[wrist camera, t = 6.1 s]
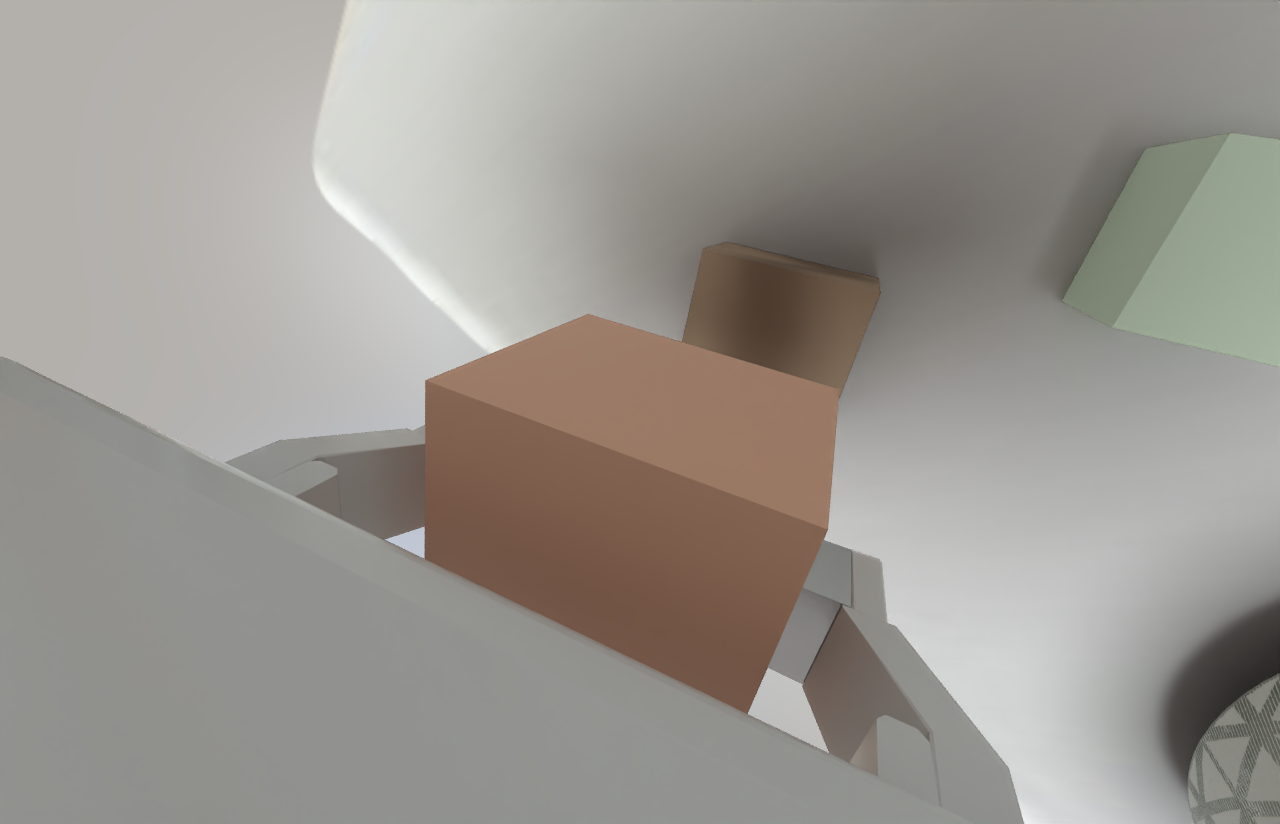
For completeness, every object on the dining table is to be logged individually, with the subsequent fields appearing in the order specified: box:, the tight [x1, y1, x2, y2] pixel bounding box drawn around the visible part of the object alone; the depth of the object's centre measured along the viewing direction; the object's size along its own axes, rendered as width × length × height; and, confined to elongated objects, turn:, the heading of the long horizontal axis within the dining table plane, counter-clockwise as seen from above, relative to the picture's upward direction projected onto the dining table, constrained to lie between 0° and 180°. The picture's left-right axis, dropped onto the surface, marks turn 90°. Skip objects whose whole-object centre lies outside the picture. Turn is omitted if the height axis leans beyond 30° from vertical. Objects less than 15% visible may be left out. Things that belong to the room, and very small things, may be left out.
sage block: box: [1062, 133, 1280, 367], centre depth 16 cm, size 6×6×5 cm
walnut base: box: [682, 242, 881, 400], centre depth 23 cm, size 7×7×4 cm
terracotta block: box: [425, 314, 839, 714], centre depth 10 cm, size 6×6×5 cm
